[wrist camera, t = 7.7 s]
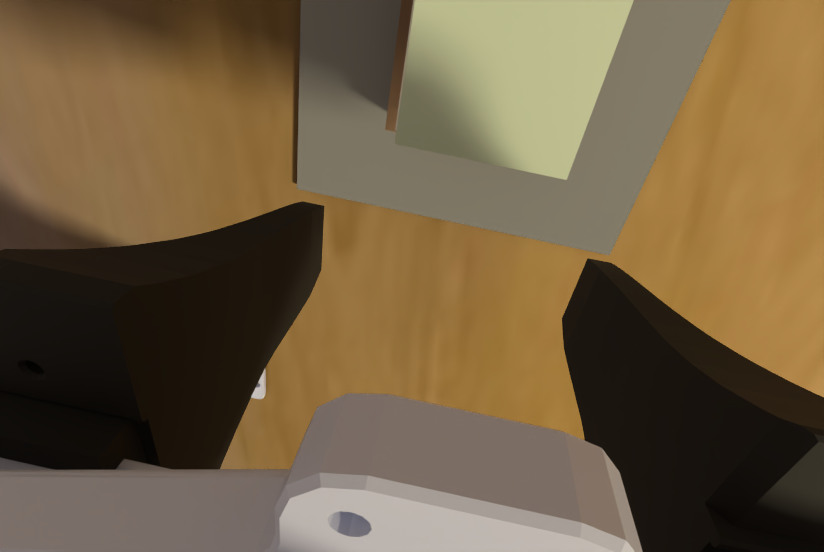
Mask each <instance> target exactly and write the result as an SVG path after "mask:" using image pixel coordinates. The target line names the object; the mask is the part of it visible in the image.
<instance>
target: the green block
mask: <svg viewBox="0 0 824 552" xmlns="http://www.w3.org/2000/svg"><path fill="white" fill-rule="evenodd" d="M633 1H634V0H415V4H414V11H413V18H412V25H411V32H410V39H409V46H408V53H407V60H406V67H405V74H404V81H403V88H402V95H401V102H400V109H399V116H398V123H397V130H396V137H395V144H396V145H401V146H406V147H411V148H416V149H420V150H425V151H430V152H435V153H440V154H444V155H449V156H454V157H459V158H464V159H468V160H473V161H478V162H483V163H488V164H492V165H497V166H502V167H507V168H511V169H516V170H521V171H526V172H531V173H535V174H540V175H545V176H550V177H555V178H559V179H564V180H567V178H568V175H569V172H570V170H571V167H572V164H573V162H574V159H575V156H576V154H577V151H578V148H579V146H580V143H581V140H582V138H583V135H584V132H585V130H586V127H587V124H588V122H589V119H590V116H591V114H592V111H593V108H594V106H595V103H596V100H597V98H598V95H599V92H600V89H601V87H602V84H603V81H604V79H605V76H606V73H607V71H608V68H609V65H610V63H611V60H612V57H613V55H614V52H615V49H616V47H617V44H618V41H619V39H620V36H621V33H622V31H623V28H624V25H625V23H626V20H627V17H628V15H629V12H630V9H631V6H632V4H633Z"/></svg>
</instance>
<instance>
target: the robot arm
mask: <svg viewBox="0 0 824 552" xmlns="http://www.w3.org/2000/svg"><path fill="white" fill-rule="evenodd" d="M323 219H324V206H322V205H317V204H312V203H307V202H298V203H294V204H291V205H288V206H285V207H282V208H280V209H277V210H274V211H271V212H269V213H266V214H263V215H260V216H258V217H255V218H252V219H249V220H246V221H243V222H240V223H237V224H234V225H230V226H227V227H224V228H221V229H218V230H214V231H210V232H206V233H202V234H198V235H193V236H189V237H184V238H179V239H174V240H167V241H160V242H153V243H146V244H139V245H131V246H121V247H109V248H92V249H67V250H29V249H4V250H1V251H0V552H824V397H821V396H819V395H817V394H815V393H812V392H810V391H808V390H806V389H804V388H802V387H800V386H798V385H796V384H794V383H792V382H790V381H788V380H786V379H784V378H782V377H780V376H778V375H776V374H774V373H772V372H770V371H768V370H767V369H765V368H763V367H761V366H759V365H757V364H755V363H753V362H752V361H750V360H748V359H746V358H745V357H743V356H741V355H739V354H738V353H736V352H735V351H733V350H731V349H730V348H728V347H726V346H725V345H723V344H722V343H720V342H718V341H717V340H715V339H713V338H712V337H710V336H709V335H707V334H706V333H704V332H703V331H701V330H700V329H699V328H697V327H696V326H694V325H693V324H692V323H690V322H689V321H687V320H686V319H685V318H683V317H682V316H680V315H679V314H678V313H676V312H675V311H674V310H672V309H671V308H670V307H668V306H667V305H666V304H665V303H663V302H662V301H661V300H660V299H658V298H657V297H656V296H655V295H653V294H652V293H651V292H650V291H648V290H647V289H646V288H645V287H643V286H642V285H641V284H640V283H638V282H637V281H636V280H635V279H633V278H632V277H631V276H629V275H628V274H627V273H625V272H624V271H623V270H621V269H620V268H618V267H617V266H615V265H613V264H612V263H608V262H603V261H598V260H593V259H587V261H586V264H585V266H584V268H583V271H582V273H581V275H580V278H579V280H578V282H577V285H576V287H575V290H574V292H573V294H572V297H571V299H570V301H569V304H568V306H567V308H566V311H565V313H564V315H563V318H562V326H563V341H564V350H565V355H566V359H567V363H568V368H569V372H570V376H571V380H572V384H573V388H574V392H575V396H576V400H577V404H578V408H579V412H580V417H581V421H582V426H583V431H584V437H585V441H584V440H582V439H579V438H577V437H575V436H572V435H570V434H568V433H565V432H563V431H559V430H555V429H550V428H545V427H540V426H536V425H531V424H526V423H522V422H517V421H512V420H508V419H503V418H498V417H494V416H489V415H484V414H480V413H475V412H470V411H465V410H461V409H456V408H451V407H447V406H442V405H437V404H433V403H428V402H423V401H419V400H414V399H409V398H404V397H400V396H395V395H390V394H366V393H348V394H345V395H343V396H341V397H339V398H336V399H334V400H332V401H330V402H328V403H325V404H323V405H321V406H319V407H317V409H316V412H315V414H314V416H313V418H312V420H311V422H310V424H309V426H308V428H307V430H306V433H305V435H304V438H303V440H302V442H301V445H300V447H299V450H298V452H297V455H296V457H295V459H294V462H293V464H292V467H291V469H220V467H221V464H222V462H223V460H224V457H225V455H226V453H227V450H228V448H229V446H230V443H231V441H232V439H233V436H234V434H235V432H236V429H237V427H238V425H239V423H240V420H241V418H242V416H243V414H244V412H245V409H246V407H247V405H248V403H249V401H250V398H255V399H262V398H264V396H265V394H266V375H265V367H266V365H267V364H268V362H269V360H270V358H271V357H272V355H273V353H274V352H275V350H276V349H277V347H278V345H279V344H280V342H281V341H282V339H283V338H284V336H285V335H286V333H287V331H288V330H289V328H290V327H291V325H292V324H293V322H294V320H295V319H296V317H297V316H298V314H299V313H300V311H301V309H302V308H303V306H304V305H305V303H306V301H307V300H308V298H309V296H310V294H311V292H312V290H313V288H314V285H315V283H316V281H317V278H318V276H319V273H320V271H321V263H322V241H323Z"/></svg>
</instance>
